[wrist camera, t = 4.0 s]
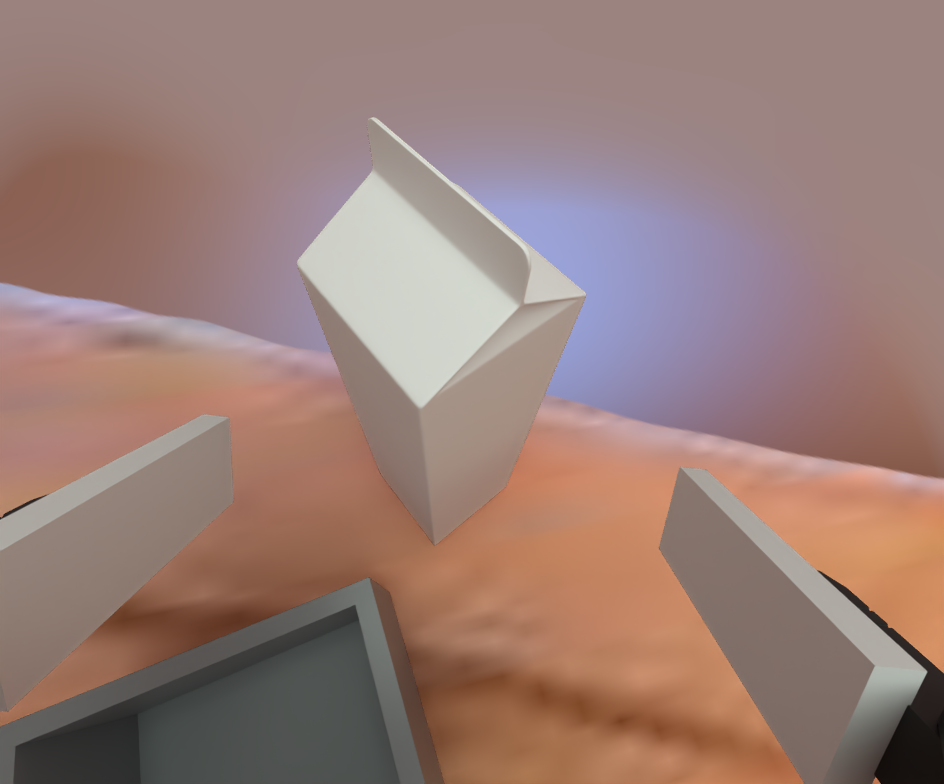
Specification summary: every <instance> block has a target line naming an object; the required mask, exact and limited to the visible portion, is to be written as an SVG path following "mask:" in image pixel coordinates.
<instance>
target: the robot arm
mask: <svg viewBox="0 0 944 784" xmlns="http://www.w3.org/2000/svg"><path fill="white" fill-rule="evenodd" d="M233 502H234V498H233V477H232V456H231V434H230V417H223V416H214V415H205V414H203V415H201V416H199V417H197V418H195V419H193V420H192V421H190V422H188V423H186V424H184V425H182V426H180V427H178V428H176V429H174V430H172V431H170V432H168V433H166V434H165V435H163V436H161V437H159V438H157V439H155V440H153V441H151V442H149V443H147V444H145V445H143V446H141V447H139V448H138V449H136V450H134V451H132V452H130V453H128V454H126V455H124V456H122V457H120V458H118V459H116V460H114V461H113V462H111V463H109V464H107V465H105V466H103V467H101V468H99V469H97V470H95V471H93V472H91V473H89V474H87V475H86V476H84V477H82V478H80V479H78V480H76V481H74V482H72V483H70V484H68V485H66V486H64V487H62V488H60V489H59V490H57V491H55V492H53V493H51V494H48V495H45V496H42V497H39V498H36V499H33V500H31V501H29V502H27V503H25V504H23V505H21V506H19V507H17V508H15V509H13V510H11V511H9V512H7V513H5V514H4V515H3V517H2V518H1V517H0V711H6V712H8V711H9V710H10V709H11V708H12V707H13V706H14V705H16V704H17V703H18V702H19V701H20V700H21V699H22V698H23V697H24V696H25V695H26V694H27V693H28V692H30V691H31V690H32V689H33V688H34V687H35V686H36V685H37V684H38V683H39V682H40V681H41V680H42V679H44V678H45V677H46V676H47V675H48V674H49V673H50V672H51V671H52V670H53V669H54V668H55V667H56V666H58V665H59V664H60V663H61V662H62V661H63V660H64V659H65V658H66V657H67V656H68V655H69V654H70V653H72V652H73V651H74V650H75V649H76V648H77V647H78V646H79V645H80V644H81V643H82V642H83V641H84V640H86V639H87V638H88V637H89V636H90V635H91V634H92V633H93V632H94V631H95V630H96V629H97V628H98V627H99V626H101V625H102V624H103V623H104V622H105V621H106V620H107V619H108V618H109V617H110V616H111V615H112V614H113V613H115V612H116V611H117V610H118V609H119V608H120V607H121V606H122V605H123V604H124V603H125V602H126V601H127V600H129V599H130V598H131V597H132V596H133V595H134V594H135V593H136V592H137V591H138V590H139V589H140V588H141V587H143V586H144V585H145V584H146V583H147V582H148V581H149V580H150V579H151V578H152V577H153V576H154V575H155V574H157V573H158V572H159V571H160V570H161V569H162V568H163V567H164V566H165V565H166V564H167V563H168V562H169V561H171V560H172V559H173V558H174V557H175V556H176V555H177V554H178V553H179V552H180V551H181V550H182V549H183V548H184V547H186V546H187V545H188V544H189V543H190V542H191V541H192V540H193V539H194V538H195V537H196V536H197V535H198V534H200V533H201V532H202V531H203V530H204V529H205V528H206V527H207V526H208V525H209V524H210V523H211V522H212V521H214V520H215V519H216V518H217V517H218V516H219V515H220V514H221V513H222V512H223V511H224V510H225V509H226V508H228V507H229V506H230V505H231V504H232V503H233ZM659 550H660V551H661V553H662V554H663V556H664V558H665V559H666V561H667V563H668V564H669V566H670V567H671V569H672V571H673V572H674V574H675V575H676V577H677V579H678V580H679V582H680V584H681V585H682V587H683V588H684V590H685V592H686V593H687V595H688V596H689V598H690V600H691V601H692V603H693V604H694V606H695V608H696V609H697V611H698V613H699V614H700V616H701V617H702V619H703V621H704V622H705V624H706V625H707V627H708V629H709V630H710V632H711V634H712V635H713V637H714V638H715V640H716V642H717V643H718V645H719V646H720V648H721V650H722V651H723V653H724V655H725V656H726V658H727V659H728V661H729V663H730V664H731V666H732V667H733V669H734V671H735V672H736V674H737V675H738V677H739V679H740V680H741V682H742V684H743V685H744V687H745V688H746V690H747V692H748V693H749V695H750V696H751V698H752V700H753V701H754V703H755V705H756V706H757V708H758V709H759V711H760V713H761V714H762V716H763V717H764V719H765V721H766V722H767V724H768V725H769V727H770V729H771V730H772V732H773V734H774V735H775V737H776V738H777V740H778V742H779V743H780V745H781V746H782V748H783V750H784V751H785V753H786V755H787V756H788V758H789V759H790V761H791V763H792V764H793V766H794V767H795V769H796V771H797V772H798V774H799V776H800V777H801V779H802V780H803V782H804V784H872V783H873V781H874V779H875V777H876V778H877V779H878V780H879V782H880V783H881V784H944V673H943V672H941V671H940V670H939V669H938V668H937V667H936V666H935V665H933V664H932V663H931V662H930V661H929V660H928V659H927V658H926V657H924V656H923V655H922V654H921V653H920V652H919V651H918V650H917V649H915V648H914V647H913V646H912V645H911V644H910V643H909V642H907V641H906V640H905V639H904V638H903V637H902V636H901V635H900V634H898V633H897V632H896V631H895V630H894V629H893V628H888V626H887V625H888V624H887V623H886V622H885V621H884V620H883V619H881V618H880V617H879V616H878V615H877V614H876V613H875V612H874V611H869V607H868V606H867V605H866V604H864V603H863V602H862V601H861V600H860V599H859V598H858V597H857V596H855V595H854V594H853V593H852V592H851V591H850V590H849V589H847V588H846V587H845V586H843V585H841V584H840V583H838V582H837V581H835V580H833V579H832V578H830V577H829V576H827V575H825V574H824V573H822V572H821V571H818V570H816V569H814V568H813V567H812V566H811V565H810V564H809V563H808V562H807V561H806V560H805V559H804V558H802V557H801V556H800V555H799V554H798V553H797V552H796V551H795V550H794V549H793V548H791V547H790V546H789V545H788V544H787V543H786V542H785V541H784V540H783V539H782V538H780V537H779V536H778V535H777V534H776V533H775V532H774V531H773V530H772V529H771V528H770V527H768V526H767V525H766V524H765V523H764V522H763V521H762V520H761V519H760V518H759V517H757V516H756V515H755V514H754V513H753V512H752V511H751V510H750V509H749V508H748V507H746V506H745V505H744V504H743V503H742V502H741V501H740V500H739V499H738V498H737V497H736V496H734V495H733V494H732V493H731V492H730V491H729V490H728V489H727V488H726V487H725V486H723V485H722V484H721V483H720V482H719V481H718V480H717V479H716V478H715V477H714V476H712V475H711V474H710V473H709V472H708V471H707V470H705V469H696V468H687V467H680V468H679V472H678V476H677V480H676V484H675V487H674V491H673V495H672V499H671V503H670V507H669V511H668V515H667V518H666V522H665V526H664V530H663V534H662V538H661V542H660V546H659Z"/></svg>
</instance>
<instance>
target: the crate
mask: <svg viewBox="0 0 944 784" xmlns="http://www.w3.org/2000/svg"><path fill="white" fill-rule="evenodd" d="M0 784H444V780H443V777H442V773H441V770H440V766H439V763H438V759H437V756H436V752H435V749H434V745H433V742H432V739H431V735H430V732H429V728H428V725H427V721H426V718H425V714H424V711H423V707H422V704H421V700H420V697H419V693H418V690H417V686H416V683H415V679H414V676H413V672H412V669H411V665H410V662H409V658H408V655H407V651H406V648H405V644H404V641H403V637H402V634H401V630H400V627H399V623H398V620H397V616H396V613H395V610H394V606H393V603H392V599H391V596H390V593H389V592H388V591H387V590H385V589H384V588H383V587H381V586H380V585H379V584H377V583H376V582H375V581H373V580H372V579H371V578H366V579H364V580H361V581H359V582H356V583H354V584H351V585H349V586H346V587H344V588H341V589H339V590H336V591H334V592H332V593H329V594H327V595H324V596H322V597H319V598H317V599H314V600H312V601H309V602H307V603H304V604H302V605H299V606H297V607H295V608H292V609H290V610H287V611H285V612H282V613H280V614H277V615H275V616H272V617H270V618H267V619H265V620H262V621H260V622H258V623H255V624H253V625H250V626H248V627H245V628H243V629H240V630H238V631H235V632H233V633H230V634H228V635H225V636H223V637H220V638H218V639H216V640H213V641H211V642H208V643H206V644H203V645H201V646H198V647H196V648H193V649H191V650H188V651H186V652H183V653H181V654H179V655H176V656H174V657H171V658H169V659H166V660H164V661H161V662H159V663H156V664H154V665H151V666H149V667H146V668H144V669H142V670H139V671H137V672H134V673H132V674H129V675H127V676H124V677H122V678H119V679H117V680H114V681H112V682H109V683H107V684H104V685H102V686H100V687H97V688H95V689H92V690H90V691H87V692H85V693H82V694H80V695H77V696H75V697H72V698H70V699H67V700H65V701H63V702H60V703H58V704H55V705H53V706H50V707H48V708H45V709H43V710H40V711H38V712H35V713H33V714H30V715H28V716H26V717H23V718H21V719H18V720H16V721H13V722H11V723H8V724H6V725H3V726H1V727H0Z"/></svg>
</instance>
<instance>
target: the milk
mask: <svg viewBox="0 0 944 784" xmlns="http://www.w3.org/2000/svg"><path fill="white" fill-rule="evenodd" d="M367 130H368V137H369V144H370V150H371V157H372V165H373V170H372V172H371V173H370V174H369V176H368V177H367V178H366V179H365V180H364V181H363V183H362V184H361V185H360V186H359V187H358V189H357V190H356V191H355V192H354V193H353V195H352V196H351V197H350V198H349V199H348V200H347V202H346V203H345V204H344V205H343V207H342V208H341V209H340V210H339V211H338V212H337V214H336V215H335V216H334V217H333V218H332V220H331V221H330V222H329V223H328V224H327V225H326V227H325V228H324V229H323V230H322V232H321V233H320V234H319V235H318V236H317V237H316V239H315V240H314V241H313V242H312V243H311V245H310V246H309V247H308V248H307V249H306V250H305V252H304V253H303V254H302V255H301V257H300V258H299V259H298V261H297V267H298V269H299V272H300V274H301V277H302V280H303V282H304V285H305V287H306V290H307V292H308V295H309V297H310V300H311V302H312V305H313V307H314V309H315V312H316V315H317V317H318V320H319V322H320V324H321V327H322V330H323V332H324V334H325V337H326V340H327V342H328V345H329V347H330V349H331V352H332V355H333V357H334V360H335V362H336V365H337V367H338V370H339V372H340V374H341V377H342V379H343V382H344V384H345V387H346V389H347V392H348V394H349V397H350V399H351V402H352V404H353V407H354V409H355V412H356V414H357V417H358V419H359V422H360V424H361V427H362V429H363V432H364V434H365V437H366V439H367V442H368V444H369V447H370V449H371V452H372V454H373V457H374V459H375V462H376V464H377V467H378V469H379V472H380V474H381V475H382V477H383V478H384V479H385V481H386V482H387V483H388V485H389V486H390V487H391V489H392V490H393V491H394V493H395V494H396V495H397V497H398V498H399V499H400V501H401V502H402V503H403V505H404V506H405V507H406V509H407V510H408V511H409V513H410V514H411V515H412V517H413V518H414V519H415V521H416V522H417V523H418V525H419V526H420V527H421V528H422V530H423V531H424V532H425V534H426V535H427V536H428V538H429V539H430V540H431V542H432V543H433V544H434V545H436V544H438V543H439V542H440V541H441V540H443V539H444V538H445V537H446V536H447V535H449V534H450V533H451V532H452V531H453V530H455V529H456V528H457V527H458V526H459V525H461V524H462V523H463V522H464V521H465V520H467V519H468V518H469V517H470V516H472V515H473V514H474V513H475V512H476V511H478V510H479V509H480V508H481V507H482V506H484V505H485V504H486V503H487V502H488V501H490V500H491V499H492V498H493V497H494V496H496V495H497V494H498V493H499V492H500V491H502V490H503V489H504V488H505V487H506V486H507V483H508V481H509V478H510V476H511V474H512V471H513V469H514V467H515V464H516V462H517V459H518V457H519V455H520V452H521V450H522V448H523V445H524V443H525V440H526V438H527V436H528V433H529V431H530V429H531V426H532V424H533V421H534V419H535V417H536V414H537V412H538V410H539V407H540V405H541V402H542V400H543V398H544V395H545V393H546V391H547V388H548V386H549V383H550V381H551V379H552V376H553V373H554V372H555V369H556V367H557V364H558V362H559V360H560V357H561V355H562V353H563V350H564V348H565V346H566V343H567V341H568V338H569V336H570V334H571V331H572V329H573V326H574V324H575V322H576V319H577V317H578V315H579V312H580V310H581V308H582V305H583V303H584V300H585V298H586V293H585V292H584V291H583V290H582V289H580V288H579V287H578V286H577V285H576V284H574V283H573V282H572V281H571V280H570V279H569V278H567V277H566V276H565V275H564V274H563V273H562V272H560V271H559V270H558V269H557V268H555V267H554V266H553V265H552V264H551V263H549V262H548V261H547V260H546V259H545V258H544V257H542V256H541V255H540V254H539V253H538V252H537V251H536V250H534V249H533V248H532V247H531V246H530V245H528V244H527V243H526V242H525V241H524V240H523V239H521V238H520V237H519V236H518V235H516V234H515V233H514V232H513V231H512V230H511V229H510V228H508V227H507V226H506V225H505V224H504V223H502V222H501V221H500V220H499V219H498V218H497V217H495V216H494V215H493V214H492V213H491V212H489V211H488V210H487V209H486V208H485V207H483V206H482V205H481V204H480V203H479V202H478V201H476V200H475V199H474V198H473V197H472V196H471V195H469V194H468V193H467V192H466V191H465V190H464V189H462V188H461V187H460V186H459V185H457V184H454V183H452V182H451V181H450V180H448V179H447V178H446V177H445V176H444V175H442V174H441V173H440V172H439V171H438V170H437V169H436V168H434V167H433V166H432V165H431V164H430V163H428V162H427V161H426V160H425V159H424V158H423V157H421V156H420V155H419V154H418V153H417V152H416V151H414V150H413V149H412V148H411V147H410V146H409V145H407V144H406V143H405V142H404V141H402V140H401V139H400V138H399V137H398V136H397V135H395V134H394V133H393V132H392V131H391V130H390V129H388V128H387V127H386V126H385V125H384V124H383V123H381V122H380V121H379V120H378V119H376V118H375V117H373V118H370V119H369V120H368V123H367Z"/></svg>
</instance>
